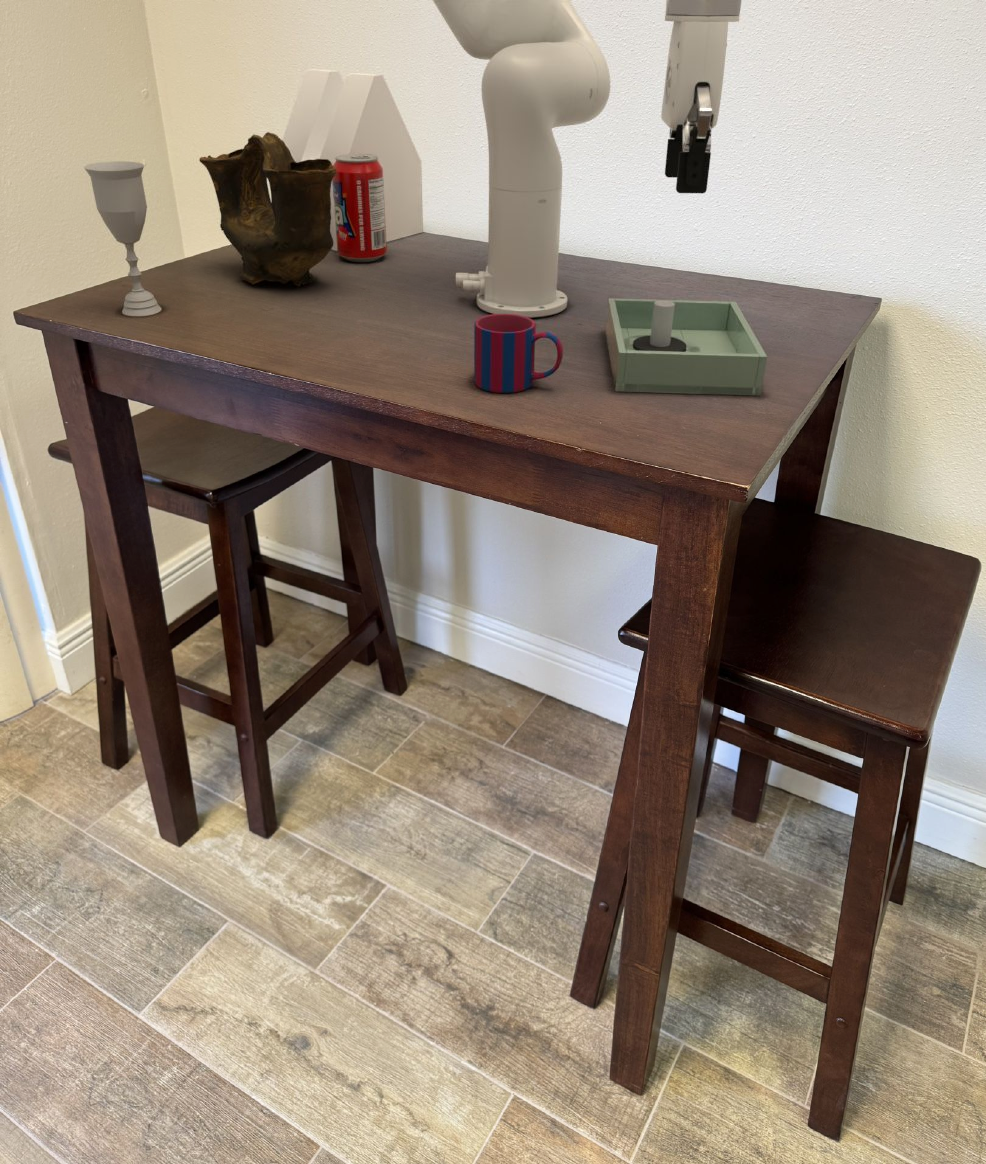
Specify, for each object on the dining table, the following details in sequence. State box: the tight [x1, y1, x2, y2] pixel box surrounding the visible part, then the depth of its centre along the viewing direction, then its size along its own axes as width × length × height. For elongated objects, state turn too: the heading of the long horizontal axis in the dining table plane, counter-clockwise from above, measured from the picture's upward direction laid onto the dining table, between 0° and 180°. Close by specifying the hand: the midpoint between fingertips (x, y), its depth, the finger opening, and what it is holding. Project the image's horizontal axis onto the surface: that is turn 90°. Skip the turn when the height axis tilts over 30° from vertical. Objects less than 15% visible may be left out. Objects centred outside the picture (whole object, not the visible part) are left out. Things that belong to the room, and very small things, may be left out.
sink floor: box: [605, 328, 762, 396], centre depth 112 cm, size 16×20×1 cm
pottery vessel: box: [199, 131, 337, 287], centre depth 134 cm, size 25×11×20 cm, turn 46°
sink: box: [605, 297, 768, 397], centre depth 111 cm, size 16×20×4 cm
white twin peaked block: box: [281, 68, 424, 252], centre depth 156 cm, size 19×15×25 cm
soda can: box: [332, 154, 388, 263], centre depth 146 cm, size 8×8×15 cm
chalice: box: [83, 160, 162, 317], centre depth 121 cm, size 7×7×18 cm
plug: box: [633, 299, 687, 352], centre depth 112 cm, size 6×6×6 cm
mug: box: [473, 313, 564, 394], centre depth 103 cm, size 7×10×7 cm
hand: (684, 184), depth 105 cm, fingers open, 9 cm apart
